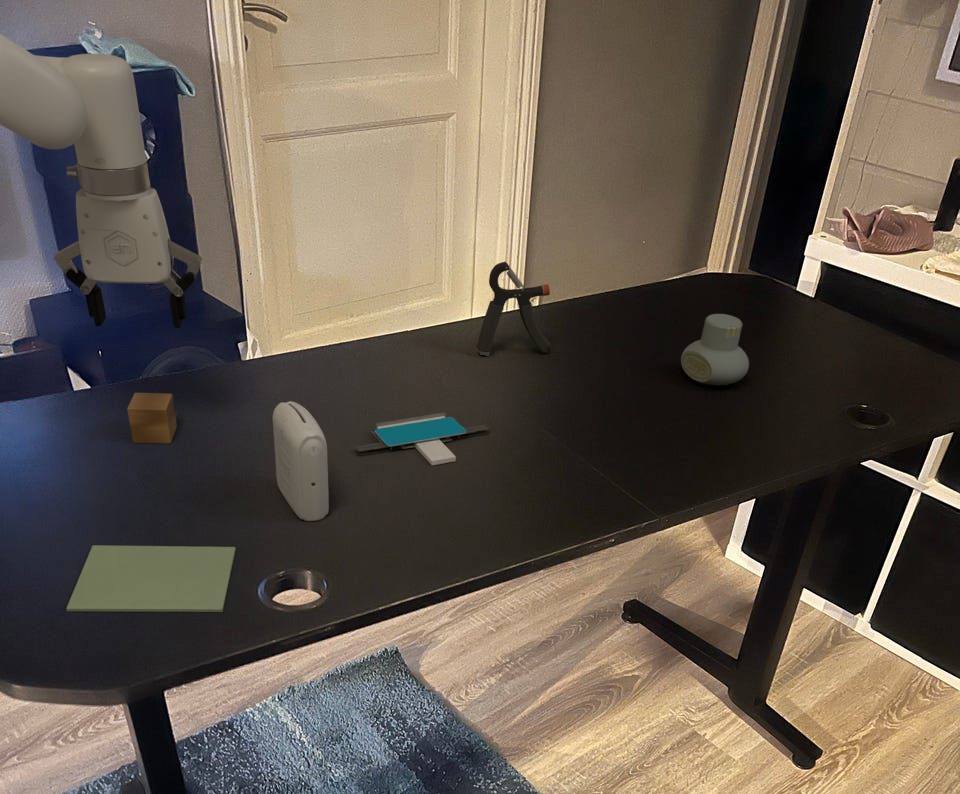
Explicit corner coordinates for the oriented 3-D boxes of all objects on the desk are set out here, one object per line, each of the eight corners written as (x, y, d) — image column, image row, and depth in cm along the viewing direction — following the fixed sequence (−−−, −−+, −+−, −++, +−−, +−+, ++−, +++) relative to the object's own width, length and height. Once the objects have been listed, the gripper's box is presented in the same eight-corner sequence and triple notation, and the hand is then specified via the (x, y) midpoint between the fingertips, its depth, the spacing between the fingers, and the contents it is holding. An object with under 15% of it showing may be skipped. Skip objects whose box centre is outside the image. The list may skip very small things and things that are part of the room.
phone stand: (375, 476, 128) (375, 465, 127) (343, 436, 136) (342, 426, 135) (508, 451, 136) (509, 441, 135) (470, 415, 144) (471, 405, 143)
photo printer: (333, 518, 119) (330, 426, 111) (300, 525, 117) (295, 432, 110) (305, 479, 126) (300, 390, 118) (273, 485, 124) (266, 395, 117)
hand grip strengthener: (551, 355, 163) (562, 265, 154) (479, 357, 161) (485, 265, 151) (547, 350, 165) (557, 260, 156) (476, 352, 162) (482, 260, 153)
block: (132, 443, 131) (126, 408, 127) (140, 426, 134) (134, 392, 131) (171, 443, 131) (166, 409, 128) (177, 427, 135) (172, 393, 132)
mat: (66, 611, 102) (66, 608, 101) (93, 548, 111) (92, 545, 111) (222, 612, 103) (222, 609, 103) (235, 549, 113) (235, 546, 112)
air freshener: (670, 371, 162) (681, 312, 155) (705, 363, 165) (718, 304, 159) (716, 397, 155) (730, 336, 148) (752, 387, 159) (767, 328, 152)
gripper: (28, 185, 109) (62, 333, 120) (186, 190, 110) (205, 336, 121) (46, 167, 115) (76, 310, 125) (196, 173, 116) (213, 313, 127)
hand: (140, 323), depth 123 cm, fingers open, 9 cm apart
